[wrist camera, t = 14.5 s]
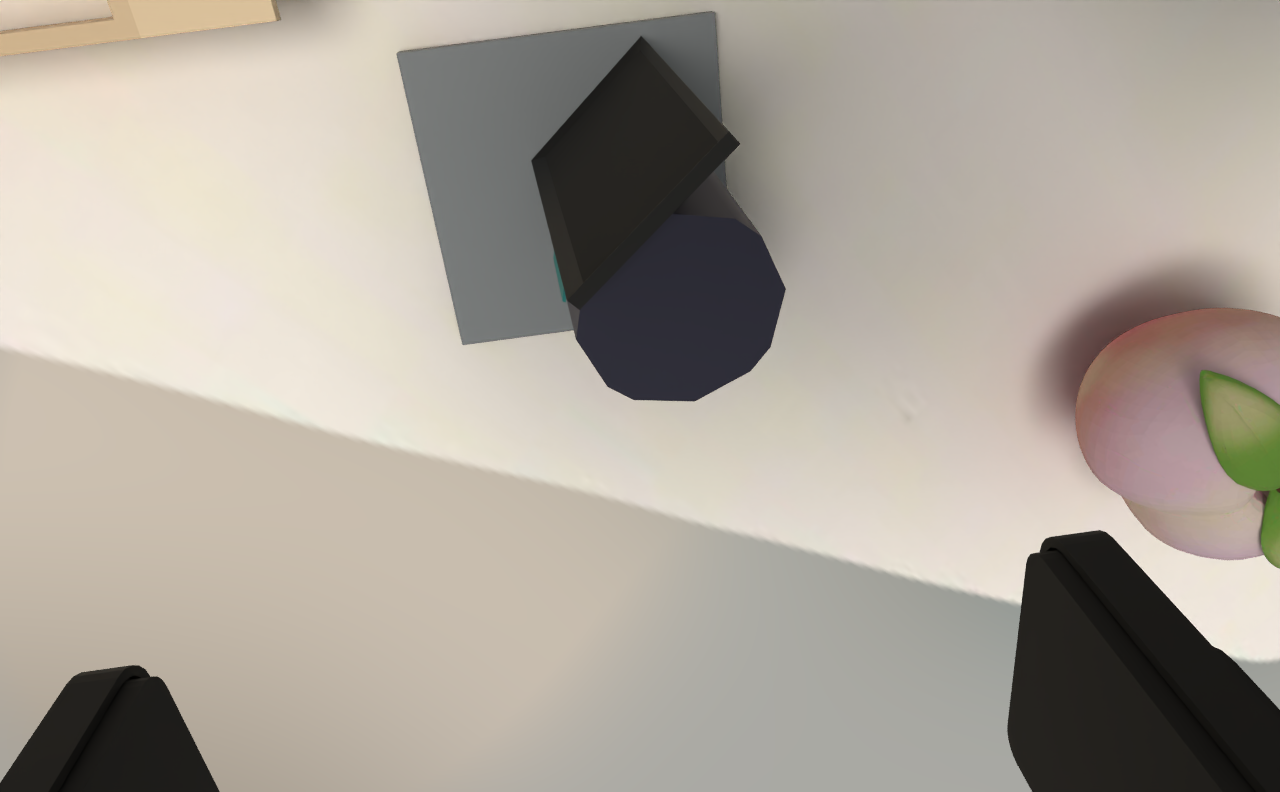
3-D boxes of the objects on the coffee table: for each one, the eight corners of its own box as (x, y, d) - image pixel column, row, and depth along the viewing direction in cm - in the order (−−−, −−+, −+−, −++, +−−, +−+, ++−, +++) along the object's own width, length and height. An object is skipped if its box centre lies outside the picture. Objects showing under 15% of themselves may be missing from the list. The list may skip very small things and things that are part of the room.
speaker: (484, 119, 28) (492, 234, 19) (645, 32, 28) (728, 110, 19) (591, 306, 32) (637, 472, 23) (733, 234, 32) (835, 376, 23)
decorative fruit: (1278, 366, 36) (1513, 506, 27) (1108, 494, 38) (1274, 661, 29) (1163, 213, 32) (1389, 315, 23) (984, 363, 35) (1129, 508, 26)
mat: (711, 11, 28) (714, 12, 27) (731, 302, 33) (734, 308, 32) (399, 51, 28) (396, 53, 27) (464, 338, 32) (462, 345, 32)
